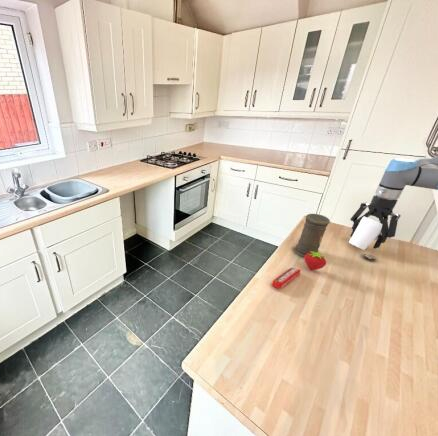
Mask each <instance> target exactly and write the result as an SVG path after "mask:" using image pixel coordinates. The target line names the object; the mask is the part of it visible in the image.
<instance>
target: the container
mask: <svg viewBox="0 0 438 436" xmlns="http://www.w3.org/2000/svg"><path fill="white" fill-rule="evenodd" d="M330 222H331V220H330V219H329V218H328V217H327V216H325V215H322V214H318V213H308V214H306V215H305V222H304V225H303V228H302V231H301V234H300V237H299V239H298V241H297V244H296V245H295V247H294V252H295V253H296V254H297V255H298V256H300V257H302V258H304V256H305V255H306V254H307V253H311V252H315V253H317V252H318V253H319V252H320V250H319V249H320V247H321V243H322V240H323V237H324V234H325V232H326V231H327V227H328V226H329V224H330ZM310 251H311V252H310Z"/></svg>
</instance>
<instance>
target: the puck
mask: <svg viewBox="0 0 438 436" xmlns="http://www.w3.org/2000/svg"><path fill="white" fill-rule="evenodd" d="M362 258H363V259H364V260H366V261H369V262H375V261H376V260H377V257H376V256H375V255H373V254H371V253H364V254H363V255H362Z"/></svg>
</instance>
